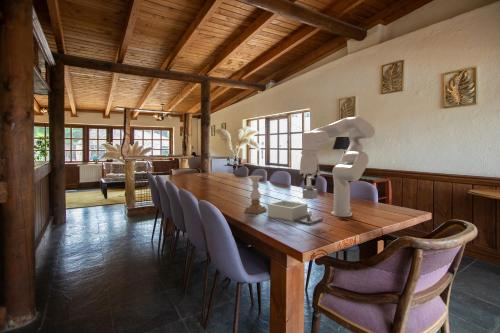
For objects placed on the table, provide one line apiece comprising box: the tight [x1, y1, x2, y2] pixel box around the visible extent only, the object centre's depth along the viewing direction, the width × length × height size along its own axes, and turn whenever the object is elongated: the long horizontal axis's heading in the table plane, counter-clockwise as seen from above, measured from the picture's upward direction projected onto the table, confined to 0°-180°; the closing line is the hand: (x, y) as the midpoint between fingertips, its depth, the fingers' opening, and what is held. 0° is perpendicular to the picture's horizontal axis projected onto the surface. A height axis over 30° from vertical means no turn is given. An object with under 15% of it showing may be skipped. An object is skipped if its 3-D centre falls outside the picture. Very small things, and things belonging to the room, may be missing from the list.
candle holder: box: [244, 175, 268, 215], centre depth 182 cm, size 11×11×24 cm
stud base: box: [294, 209, 324, 226], centre depth 158 cm, size 14×10×6 cm
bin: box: [267, 200, 308, 223], centre depth 169 cm, size 16×18×8 cm
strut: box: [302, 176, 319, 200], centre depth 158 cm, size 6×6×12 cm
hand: (310, 185), depth 157 cm, fingers closed on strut, 4 cm apart
